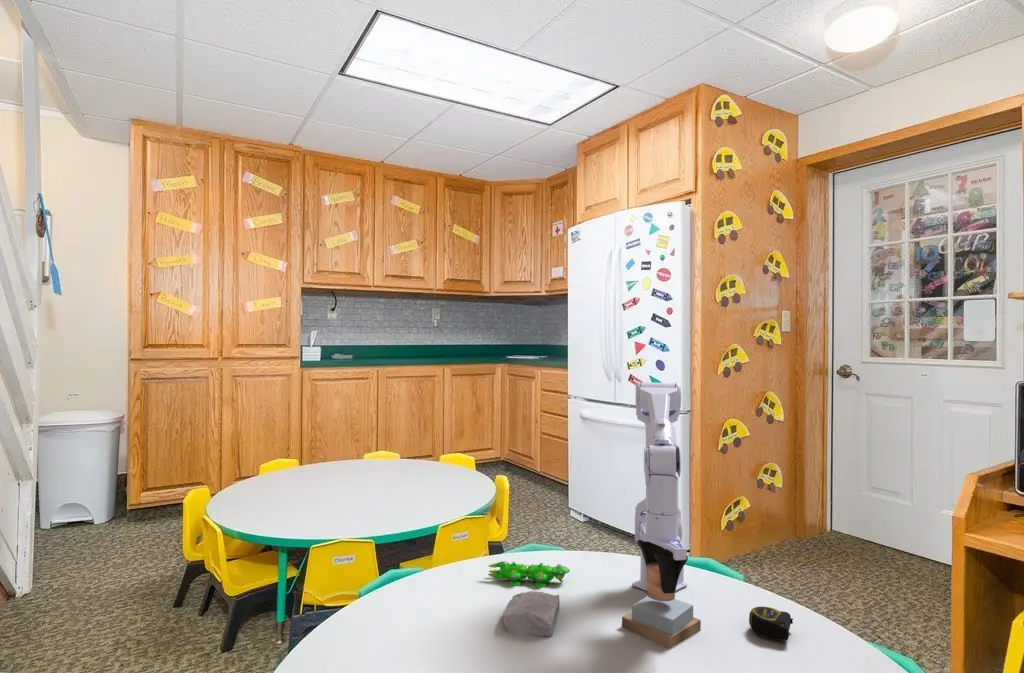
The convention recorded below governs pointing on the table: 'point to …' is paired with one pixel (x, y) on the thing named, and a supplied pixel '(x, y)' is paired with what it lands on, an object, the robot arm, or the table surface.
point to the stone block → (532, 614)
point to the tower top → (663, 614)
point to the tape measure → (770, 623)
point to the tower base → (658, 635)
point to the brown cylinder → (656, 584)
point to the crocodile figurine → (528, 573)
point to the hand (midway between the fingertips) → (661, 586)
